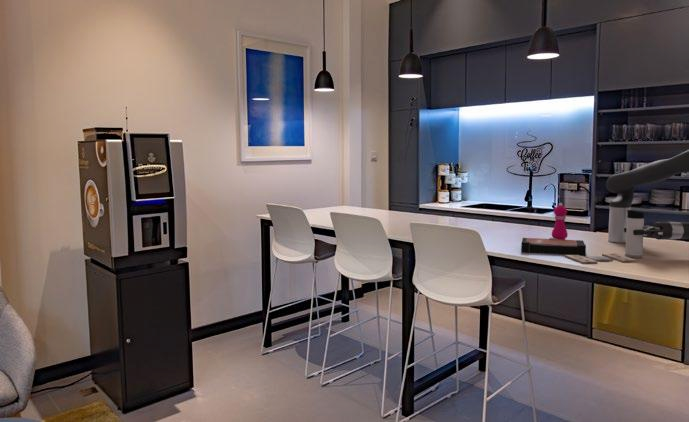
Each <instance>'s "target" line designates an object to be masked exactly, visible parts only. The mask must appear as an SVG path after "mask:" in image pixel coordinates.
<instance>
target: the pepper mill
mask: <svg viewBox="0 0 689 422" xmlns="http://www.w3.org/2000/svg"><path fill="white" fill-rule="evenodd" d="M553 213H554V219H555V224H554V227H553V229H552V231H551V238H556V239H561V240H566V239H567V237H568V231H567V228H566V226H565V221H566V218H567V216H566V215H567V213H568V209H567V208H566V207H565V206H564V205H563V202H559V203H558V205H557V206H555V207H554V209H553Z"/></svg>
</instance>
